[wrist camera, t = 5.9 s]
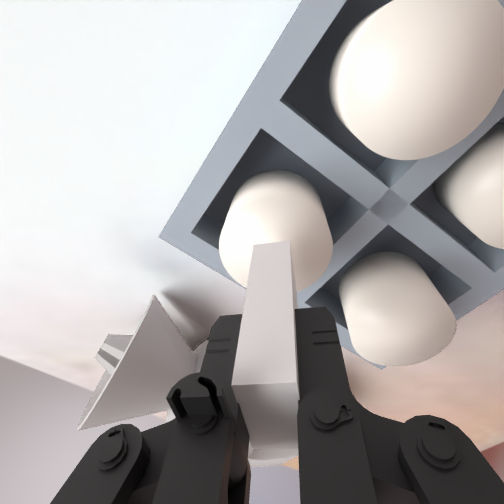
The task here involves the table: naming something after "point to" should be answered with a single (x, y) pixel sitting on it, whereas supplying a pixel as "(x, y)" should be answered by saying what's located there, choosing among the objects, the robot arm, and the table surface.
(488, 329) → the table surface
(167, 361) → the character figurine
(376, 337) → the button
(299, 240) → the button
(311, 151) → the button board
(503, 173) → the button
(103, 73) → the table surface
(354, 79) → the button
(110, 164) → the table surface
